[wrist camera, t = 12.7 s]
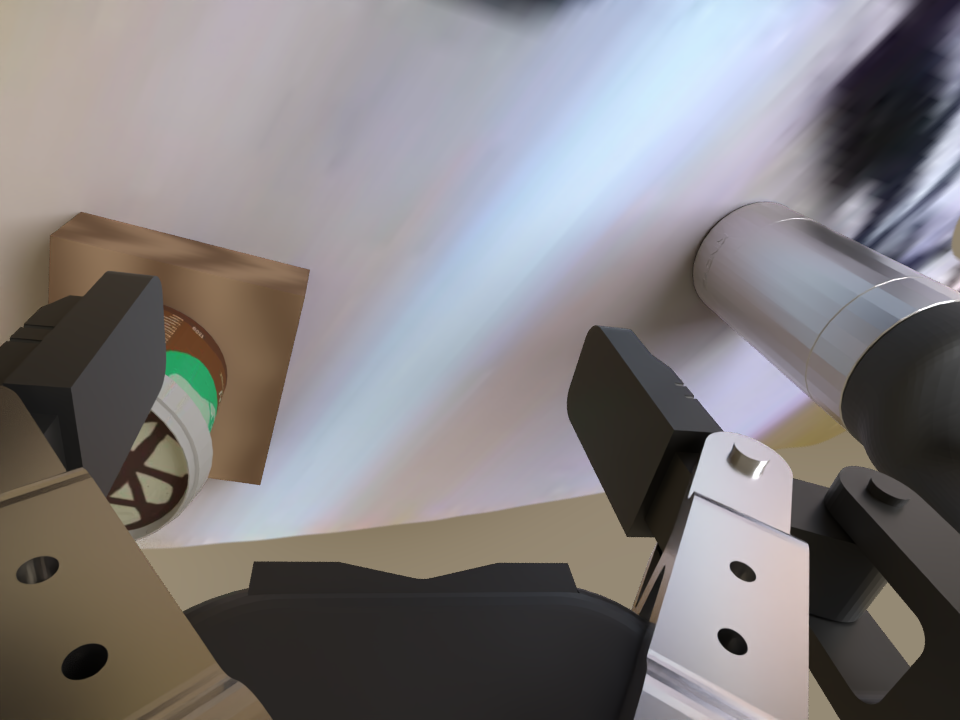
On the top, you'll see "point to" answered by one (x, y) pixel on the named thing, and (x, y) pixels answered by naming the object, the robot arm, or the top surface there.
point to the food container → (173, 432)
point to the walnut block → (203, 318)
